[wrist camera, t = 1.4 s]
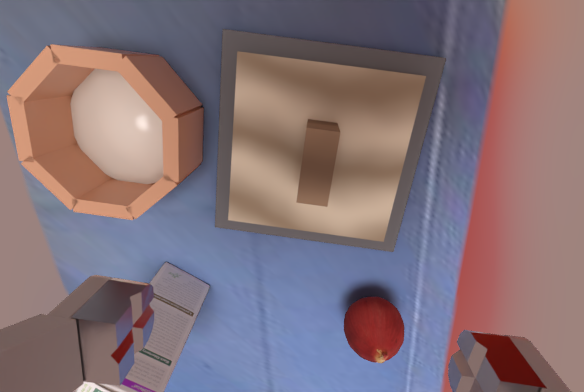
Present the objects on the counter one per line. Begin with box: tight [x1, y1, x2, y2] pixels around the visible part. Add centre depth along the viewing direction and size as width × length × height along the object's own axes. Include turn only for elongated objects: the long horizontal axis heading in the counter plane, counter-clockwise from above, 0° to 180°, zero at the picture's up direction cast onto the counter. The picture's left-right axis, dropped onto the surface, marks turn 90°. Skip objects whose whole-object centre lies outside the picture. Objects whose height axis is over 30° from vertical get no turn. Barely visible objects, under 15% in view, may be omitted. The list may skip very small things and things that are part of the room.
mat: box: [215, 29, 446, 252], centre depth 31 cm, size 18×18×1 cm
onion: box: [344, 297, 404, 363], centre depth 33 cm, size 6×6×8 cm
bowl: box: [7, 44, 204, 220], centre depth 28 cm, size 13×13×6 cm
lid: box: [228, 51, 426, 242], centre depth 28 cm, size 15×15×5 cm
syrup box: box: [76, 262, 210, 392], centre depth 31 cm, size 6×6×14 cm
